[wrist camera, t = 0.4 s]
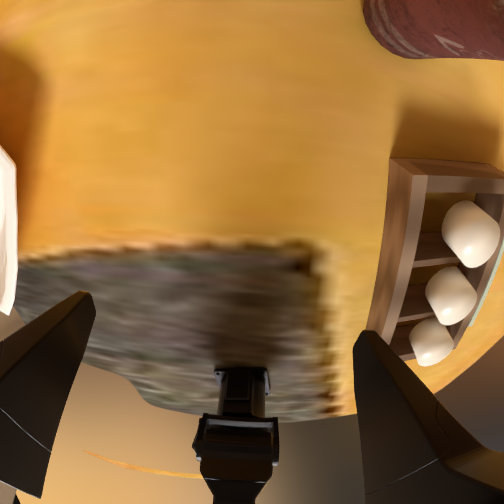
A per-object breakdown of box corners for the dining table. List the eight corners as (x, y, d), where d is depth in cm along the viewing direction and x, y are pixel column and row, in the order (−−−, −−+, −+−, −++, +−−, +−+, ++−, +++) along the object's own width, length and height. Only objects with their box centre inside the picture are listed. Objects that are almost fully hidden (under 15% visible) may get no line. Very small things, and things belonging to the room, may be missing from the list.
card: (460, 305, 27) (472, 326, 24) (455, 306, 27) (467, 327, 24) (494, 193, 19) (516, 210, 16) (489, 193, 19) (511, 210, 16)
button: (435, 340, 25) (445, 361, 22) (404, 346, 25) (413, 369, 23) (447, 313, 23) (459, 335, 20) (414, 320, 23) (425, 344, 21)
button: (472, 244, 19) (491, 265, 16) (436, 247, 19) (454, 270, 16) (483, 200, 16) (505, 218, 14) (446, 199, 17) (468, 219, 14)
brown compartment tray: (443, 324, 29) (455, 348, 25) (363, 338, 30) (371, 367, 26) (489, 164, 18) (516, 180, 15) (389, 158, 19) (412, 174, 16)
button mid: (454, 298, 22) (467, 320, 19) (420, 304, 22) (432, 328, 20) (466, 263, 20) (483, 285, 17) (431, 268, 20) (447, 292, 17)
